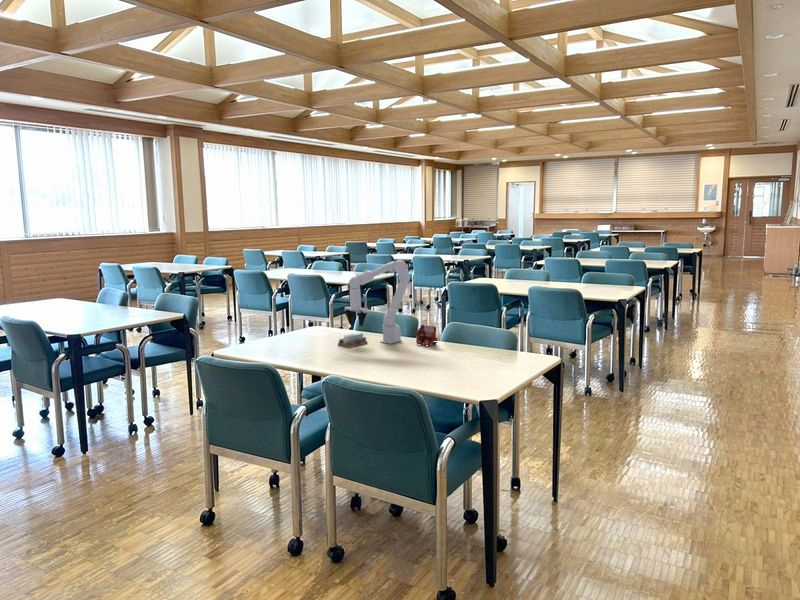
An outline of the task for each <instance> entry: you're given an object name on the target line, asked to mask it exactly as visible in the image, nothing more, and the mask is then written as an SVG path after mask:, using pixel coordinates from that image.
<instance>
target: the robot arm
mask: <svg viewBox="0 0 800 600" xmlns="http://www.w3.org/2000/svg"><path fill="white" fill-rule="evenodd" d="M386 272H395V273H397V274H398V277H399V279H400V280H399V283H398V285H397V288H396V290H395V293H394V295H393V298H392V301H391V303H390V306H389V307H388V309H387V311H386V312H385V313H384V315H383V317H382V318H383V319H382V321H383V324H382V340H380V341H379V343H383V344H390V345H392V344H395V343H399V342H402V341H403V340H402V338H401V337H402V335H401V327H400V326H399V324H397V323H396V318H397V317H396V315H397V314H398V310H399V308H400V306H401V305H400V304H401V303H402V300H403V298H404V295H405V293H406V290H407V287H408V285H409V282H410V281H411V276H410V272H409V267H408V265H407V262H405V261H404V260H403V259H397V260H396V261H390V262H388V263H386V264H383V265H382V266H380V267H378V268H375V269H373V270H366V269H365V270H364V271H363V272H361V273H359V274H355V276H353V277H351V278H350V279H349V280H348V285H349V306H344V314H345V316H346V318H347V322H348V325H353V324H354V313H355V312H357V313H356V314H357V318H358V325H359V327H362V326H363V327H364V322H365V319H366V317H367V315H368V309H367V308H364V307H362V300H361V299H362V294H361V293H362V292H361V286H364V285H365V284H367V283H370V282H372V281H373V280H374V279H375V277H376V276H380V275H382V274H384V273H386Z"/></svg>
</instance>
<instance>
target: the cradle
mask: <svg viewBox="0 0 800 600" xmlns="http://www.w3.org/2000/svg"><path fill="white" fill-rule="evenodd" d="M367 344H368V340H367V337H364V336H363V338H359V339H355V340H351V341H349V344H346V343H344V341H343V338H340V339H338V343H337V346H339V345H341V347H345V346H346V347H347V348H350V347H351V348H352V347H353V348H356V347H359V346H363V345H367ZM346 347H345V348H346Z"/></svg>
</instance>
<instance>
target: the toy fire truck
mask: <svg viewBox="0 0 800 600" xmlns="http://www.w3.org/2000/svg"><path fill="white" fill-rule="evenodd" d="M436 334H437V326H432V325H424V324H420V327H419V328H418V329H417V332H416V342H415V343H416V344H417V345H418V344H422V345H424V346H425V345H428V347H430V346H431V345H432V344H435V345H437V344H438V342H434V341H438V338H437V336H436ZM436 343H437V344H436Z"/></svg>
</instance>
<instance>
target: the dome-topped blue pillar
mask: <svg viewBox="0 0 800 600" xmlns="http://www.w3.org/2000/svg"><path fill="white" fill-rule="evenodd" d="M363 337H364V333H362V332H358V331H357V332H354V333H349V334H346V335H344V336H343V338H342V339H343V341H344V343H346V344H349V341H351V340H355V339H359V338H363Z"/></svg>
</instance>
